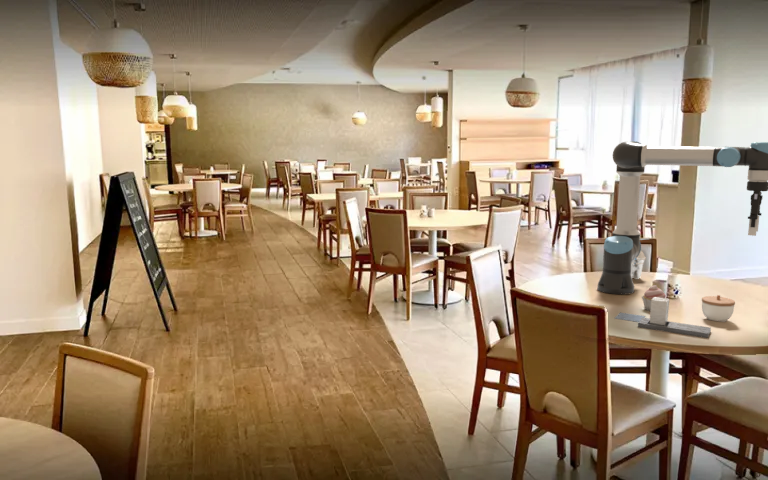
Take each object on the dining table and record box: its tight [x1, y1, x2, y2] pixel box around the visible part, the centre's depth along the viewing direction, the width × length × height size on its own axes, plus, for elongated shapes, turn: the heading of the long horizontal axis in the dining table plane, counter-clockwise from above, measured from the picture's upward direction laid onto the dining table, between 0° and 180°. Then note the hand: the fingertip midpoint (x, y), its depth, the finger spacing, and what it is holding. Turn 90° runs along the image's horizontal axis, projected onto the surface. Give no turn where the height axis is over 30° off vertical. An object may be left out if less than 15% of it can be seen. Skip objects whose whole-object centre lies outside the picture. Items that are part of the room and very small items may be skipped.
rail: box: [637, 317, 712, 339], centre depth 216 cm, size 22×8×2 cm, turn 57°
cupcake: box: [641, 284, 667, 312], centre depth 242 cm, size 9×9×10 cm
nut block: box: [649, 297, 670, 327], centre depth 218 cm, size 5×5×10 cm
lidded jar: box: [701, 294, 736, 323], centre depth 228 cm, size 11×11×9 cm
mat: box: [614, 312, 646, 323], centre depth 230 cm, size 9×9×1 cm
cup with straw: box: [631, 237, 650, 280], centre depth 296 cm, size 8×9×20 cm
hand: (753, 233), depth 253 cm, fingers open, 13 cm apart
